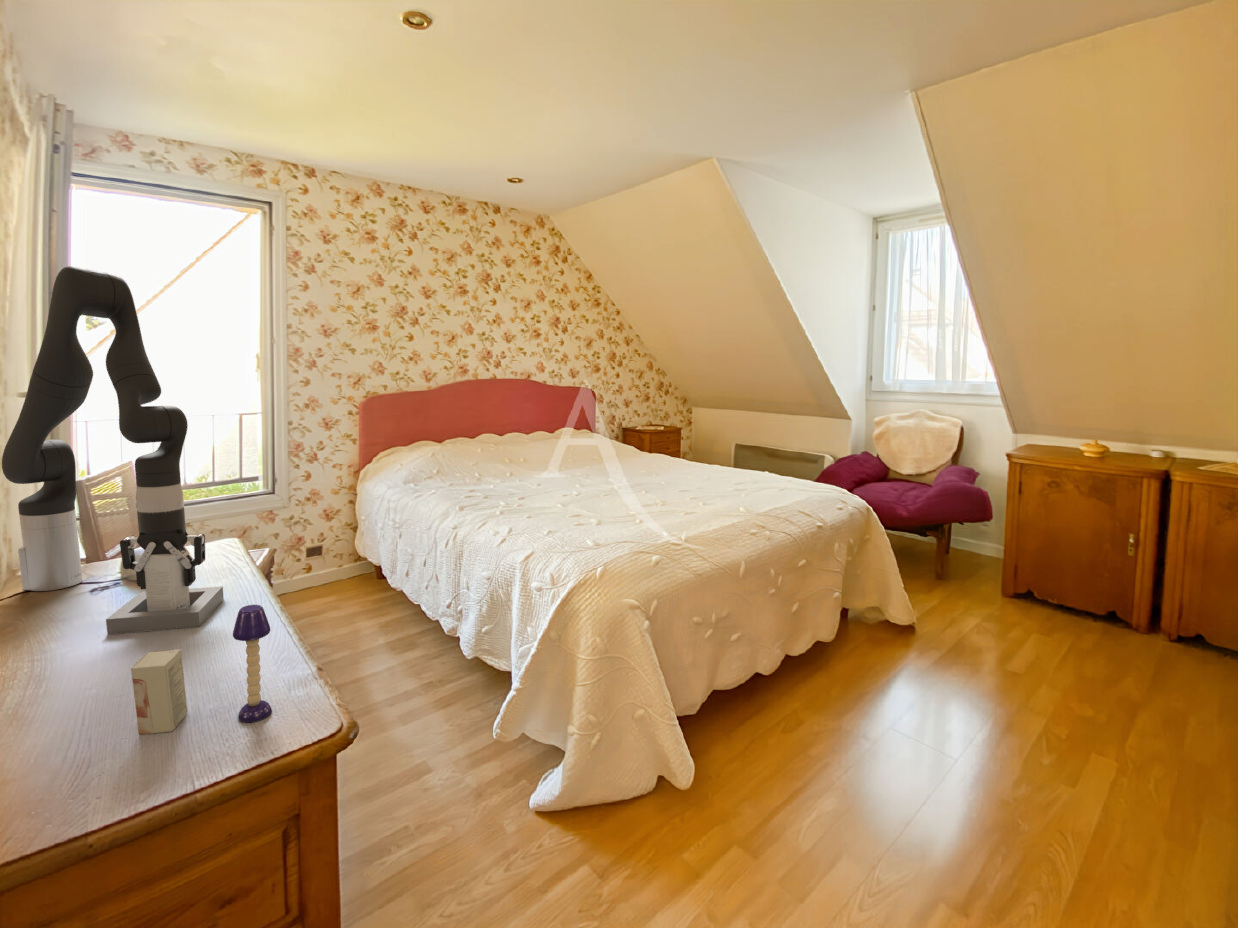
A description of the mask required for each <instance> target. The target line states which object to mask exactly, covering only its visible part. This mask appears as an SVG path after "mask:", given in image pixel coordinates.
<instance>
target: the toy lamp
mask: <svg viewBox="0 0 1238 928" xmlns="http://www.w3.org/2000/svg"><path fill="white" fill-rule="evenodd" d="M264 609H265V608H264V607H263V606H262V605H260V604H248V605H245V606H243V607H241V608H239V610H238V612H237V616H236V619H235V622H234V623H235V624H234V626H233V630H232V637H233V639H234V640H237V641H239V642H240V641H241V642H245V644H246V647H245V653H246V665H247V666H246V673H247V677H246V684H247V687H246V692H247V697H246V698H247V700H246V701H247V703H246V704H243V706H242V707H241V709H240V710H239V712H238V714H237V715H238V717H237V718H238V719H237V720H239V722H240V723H241V722H242V723H256V722H259V721H262V720H265V719H266V718H268V717H269V716H271V714H272V712H273V709H272V707H271V705H270V703H269V702H267V701H266V700H262V697H261V696H262V695H261V687H262V685H261V684H260V683H261V679H262V678H261V665H260V662H261V656H260V650H261V649H260V648H261V647H260V644H259V642H260V639H262V638H265V637H266V636H268V635H269V634H270V632H271V627H270V623H269V620H268V618H267V614H266V612H265V610H264Z"/></svg>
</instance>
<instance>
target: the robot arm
mask: <svg viewBox="0 0 1238 928" xmlns="http://www.w3.org/2000/svg"><path fill="white" fill-rule="evenodd" d="M134 301H135V300H134V298H133V294H132V292H131V289H130V287H129V285H128V283H127V282H126V280H125V279H124V278H123V277H122V276H118V275H117V274H113V273H108V272H105V271H99V270H94V269H89V268H85V267H80V266H74V265H73V266H72V265H71V266H69V265H68V266H64V267H63V268H62V269H60V270H59V272H58V273H57V276H56V278H55V280H54V283H53V288H52V293H51V298H50V303H49V308H48V309H49V310H48V316H47V321H46V327H45V331H44V335H43V339H42V341H41V344H40V345H41V346H40V348H39V352H38V355H37V358H36V361H35V363H34V366H33V368H32V372H31V376H30V379H29V383H28V387H27V391H26V395H25V398H24V402H23V404H22V408H21V411H20V413H19V416H18V419H17V420H16V423H15V425H14V427H13V429H12V432H11V433H10V435H9V438H8V440H7V442H6V445H5V447H4V449H3V452H2V457H1V469H2V473H3V475H4V477H5V478H6V479H7V480H8V481H9V482H11V483H14V484H15V485H16V484H18V485H21V484H22V485H26V484H27V485H28V484H30V485H31V484H36V483H38V484H39V483H43V485H42V486H41V487H40V488H39V490H37V491H35V493H33V494H30V495H29V496H26V497H24V498H23V499H21V500H19V502H18V505H17V506H18V507H17V508H18V516H19V524H20V525H19V526H20V532H21V540H22V541H21V542H22V547H19V548H18V550H17V553H18V561H19V569H20V577H21V578H20V579H21V586H22V587H21V588H22V591H31V592H32V591H33V592H48V591H57V590H61V589H65V588H66V589H67V588H69V587H73V586H75V585H78V584H80V583H82V582H83V571H82V563H81V561H82V560H81V553H80V552H81V551H80V544H79V543H80V541H79V534H78V533H79V532H78V525H77V514H76V504H75V503H76V499H77V473H76V472H77V470H76V458H75V454H74V450H73V449H72V447H71V446H70V445H69V444H68V442H66V441H65V440H63V439H56V438H55V439H47V438H48V436H49V435H50V434H51V432H52V431H53V430H54V429H55V428H56V427H58V425H60V424H61V423H62V422H64V421H65V420H67V418H69V417H70V416H72V414H73V413H75V412H76V411H77V410H78V409H79V408H80V407H81V406H82V405H83V404H84V402H85V400H86V399H87V396H88V394H89V390H90V387H91V385H92V382H93V377H94V370H93V367H92V364H91V362H90V360H89V358H88V356H87V355H86V352H85V350H84V349H83V347H82V345H81V343H80V341H79V339H78V334H77V327H78V322H79V319H80V317H81V316H86V317H94V318H100V319H109V320H110V322H112V325H113V327H114V328H115V333H114V334H115V335H114V338H113V340H112V341H111V342H112V343H111V344H110V346H109V347H108V349H107V352H106V355H105V367H106V371H107V374H108V377H109V379H110V381H111V383H112V386H113V388H114V391H115V393H116V398H117V404H118V413H119V414H118V415H119V416H118V426H119V427H118V429H119V431H120V433H121V435H122V436H123V437H124V438H125V439H126V440H128V441H129V442H131V443H132V444H133V443H134V444H147V443H148V444H149V443H159V446H158V447H157V449H156V450H154V451H153V452H150V453H147V454H144V455H143V454H142V455H141V456H138V457H137V458H136V459H135V461H134V471H135V474H134V475H135V482H136V484H135V485H136V492H135V508H136V516H137V527H138V532H139V534H138V537H132V536H128V537H127V536H126V537H125V538H123V539H121V540H119V549H120V554H121V560H122V561H121V562H122V567H123V569H124V570H133V571H134V572H135V573H136V574H135V576H136V585H137V587H139V588H140V590H146V586H145V574H144V565H145V564H146V562H147V560H148V558H149V557H150V555H154V554H175V555H176V559H177V560H178V561H180V562H181V563H182V565H183V566H184V567H185V569H184V579H185V586H189V587H190V586H192V585H193V583H195V582H196V579H197V577H196V576H197V575H196V574H197V573H196V566H200V565H201V564H203V562H205V561H206V535H205V534H204V533H199V534H198V535H197V534H194V535H192V534H190V535H189V534H188V533H187V530H186V515H185V502H184V501H185V500H184V499H185V498H184V491H183V488H182V483H181V482H182V480H181V479H182V478H181V470H180V469H181V468H180V462H181V457H182V452H183V448H184V443H185V440H186V437H187V433H188V426H189V425H188V418H187V417H186V414H185V413H184V412H183V410H181V409H180V407H177V406H174V405H155V406H154V405H152V406H151V405H150V406H149V405H148V406H144V405H146V404H150V403H152V402H154V401H156V400H157V399H159V398H160V396H161V394H162V387H161V384H160V382H159V380H158V378H157V376H156V373H155V371H154V369H153V366H152V365H151V362H150V360H149V357H148V354H147V352H146V349H145V348H146V347H145V345H144V341H143V336H142V333H141V327H140V326H141V325H140V322H139V317H138V313H137V309H136V306H135V302H134ZM142 405H143V406H142ZM188 542H189V543H190V545H191V546H192V547H193V551H194V553H193V555H194V556H192V555H191V554H190V551H189V550H188V549H187V548H186V547H185V545H186V544H187V543H188ZM137 544H138V545H139V547H140V548H142V549H143V550H144V551H143V552H142V554H141V556H140V557H139V559H138V561H136V554H135V548H136V547H137ZM180 551H186V552H185V553H183V554H182V553H181V552H180ZM177 554H178V555H177ZM193 557H194V558H193Z"/></svg>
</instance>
